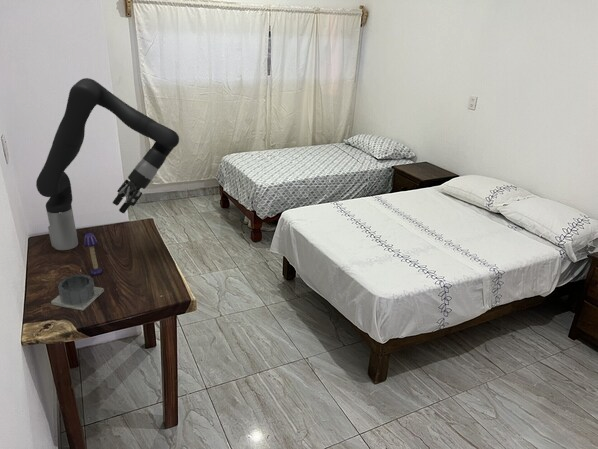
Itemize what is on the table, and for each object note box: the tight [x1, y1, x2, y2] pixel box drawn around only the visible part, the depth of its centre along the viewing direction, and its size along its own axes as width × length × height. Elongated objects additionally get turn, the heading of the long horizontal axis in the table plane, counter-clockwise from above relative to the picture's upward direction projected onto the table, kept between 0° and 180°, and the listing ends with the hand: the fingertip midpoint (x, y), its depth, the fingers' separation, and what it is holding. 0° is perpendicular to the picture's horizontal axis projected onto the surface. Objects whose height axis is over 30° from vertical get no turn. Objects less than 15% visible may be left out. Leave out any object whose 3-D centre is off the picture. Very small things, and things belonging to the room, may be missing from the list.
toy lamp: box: [83, 232, 103, 276], centre depth 164 cm, size 5×5×17 cm
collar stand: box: [50, 273, 105, 311], centre depth 151 cm, size 12×12×6 cm
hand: (117, 208), depth 163 cm, fingers open, 8 cm apart
